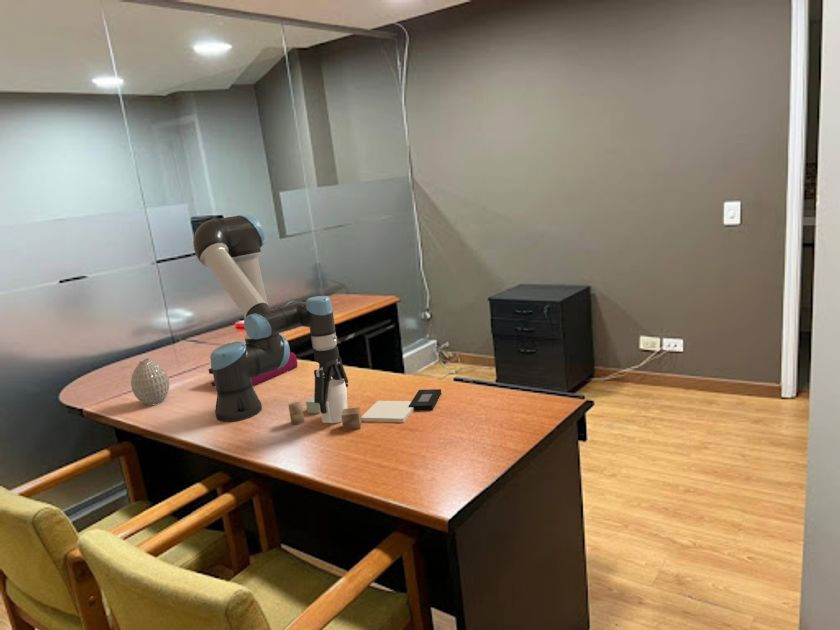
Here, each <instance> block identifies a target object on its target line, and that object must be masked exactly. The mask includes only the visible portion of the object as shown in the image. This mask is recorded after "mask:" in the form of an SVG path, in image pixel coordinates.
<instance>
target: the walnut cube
mask: <svg viewBox="0 0 840 630" xmlns="http://www.w3.org/2000/svg"><path fill="white" fill-rule="evenodd" d="M341 416H342V429H343V432H346V431H348V432H349V431H355V430H361V429H362V428H361V427H362V422H363V421H361V417H362V415H361V409H360V407H351V408H347V409H343V411H342V415H341Z"/></svg>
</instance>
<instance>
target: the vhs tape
mask: <svg viewBox="0 0 840 630" xmlns="http://www.w3.org/2000/svg"><path fill="white" fill-rule="evenodd" d="M440 395H441V396H442V389H441V388H440V389H438V388H437V389H435V388H434V389H418V391H417V392H416V394H415V395H414V397H413V399H412V400H410V401H411V403H410V405H409V407H414V411H413V412H415V411H416V412H418V411H419V412H422V411H423V412H424V411H425V412H426V411H427V412H428V411H434V408H435V407H436V405H437V403H438V401H439V400H440V398H439V397H441V396H440ZM438 399H439V400H438Z"/></svg>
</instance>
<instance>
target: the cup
mask: <svg viewBox="0 0 840 630" xmlns="http://www.w3.org/2000/svg"><path fill="white" fill-rule="evenodd" d="M346 384H347V383H346ZM346 384H345V380H344V379H340V380H334V379H333V378H331V381H329V387H328V394H327V402H328V403H329V409H330V416H331V423H330V424H338V423H341V422H342V416H341V415H342V411H343V409H348V408H347V403H348V398H347V397H348V395H347V393H348V390H347V387H346Z"/></svg>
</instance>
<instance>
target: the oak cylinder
mask: <svg viewBox="0 0 840 630" xmlns="http://www.w3.org/2000/svg"><path fill="white" fill-rule="evenodd" d="M287 406H288V410H289V411H288V412H289V418H290V423H291V425H293V426H295V425H296V426H297V425H301V424H303V423H304V422H305V417H304V412H303V406H302V402H301V401H294V402H291V403H289V404H288V405H287Z"/></svg>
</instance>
